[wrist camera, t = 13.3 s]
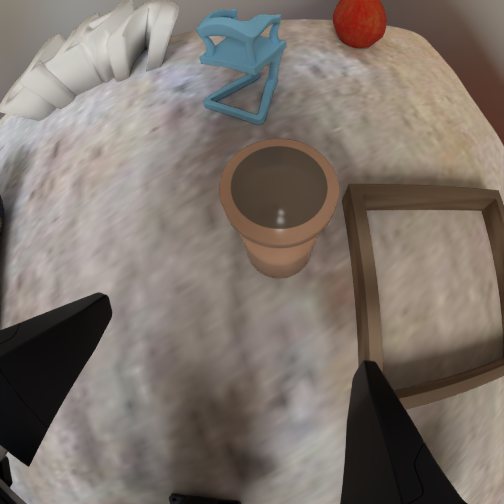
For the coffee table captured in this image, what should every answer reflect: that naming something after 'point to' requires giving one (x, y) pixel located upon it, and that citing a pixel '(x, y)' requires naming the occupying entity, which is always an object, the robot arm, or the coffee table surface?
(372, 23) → the apple
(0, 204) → the portable speaker
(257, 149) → the terracotta pot
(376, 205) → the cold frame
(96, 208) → the coffee table surface
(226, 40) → the chair
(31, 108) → the white wavy slab sculpture
